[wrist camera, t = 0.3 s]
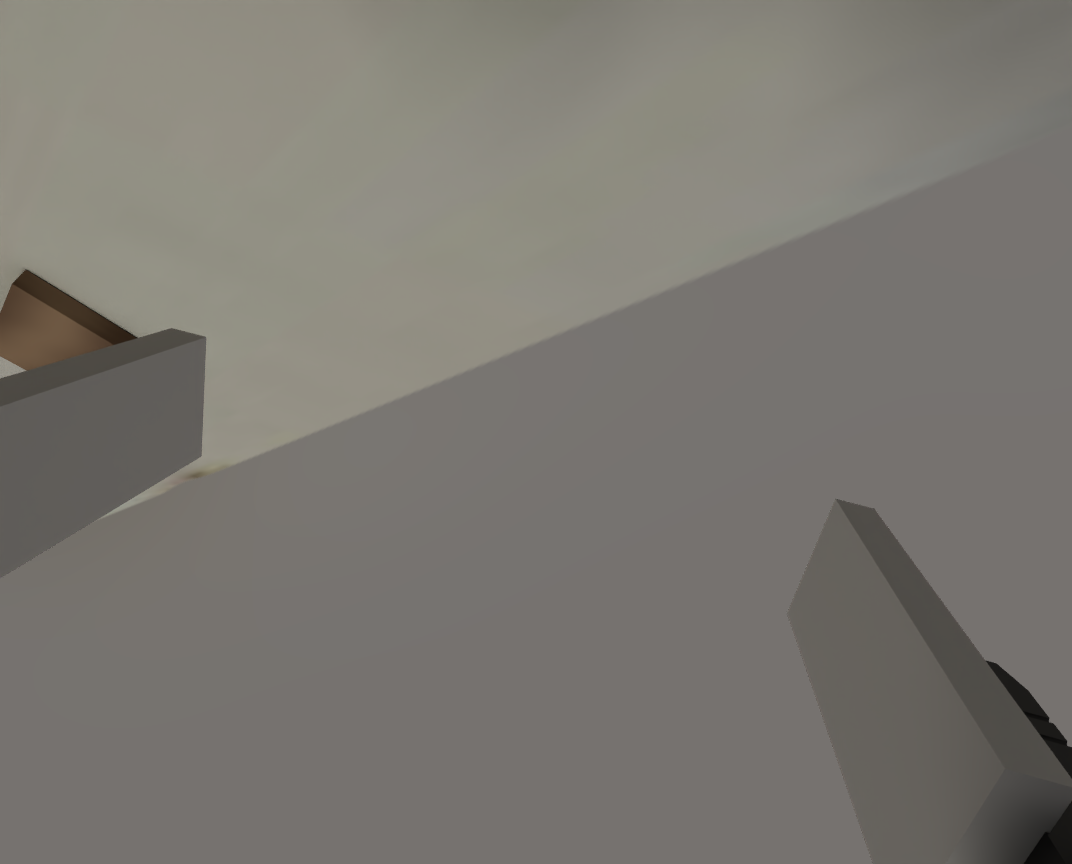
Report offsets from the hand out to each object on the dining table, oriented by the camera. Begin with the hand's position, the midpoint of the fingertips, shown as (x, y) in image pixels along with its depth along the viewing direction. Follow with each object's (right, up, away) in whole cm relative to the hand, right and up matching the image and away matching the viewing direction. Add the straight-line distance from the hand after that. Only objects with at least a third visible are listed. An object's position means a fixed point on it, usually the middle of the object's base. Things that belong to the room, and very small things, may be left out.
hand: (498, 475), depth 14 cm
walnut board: (-28, +6, +31) cm, 42 cm away
